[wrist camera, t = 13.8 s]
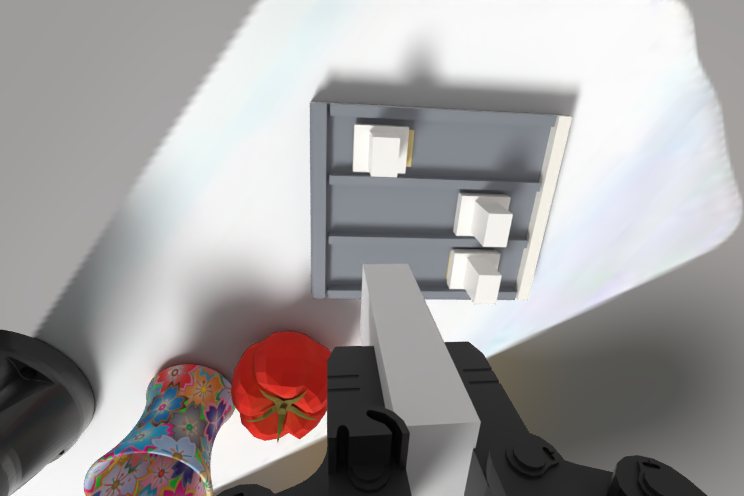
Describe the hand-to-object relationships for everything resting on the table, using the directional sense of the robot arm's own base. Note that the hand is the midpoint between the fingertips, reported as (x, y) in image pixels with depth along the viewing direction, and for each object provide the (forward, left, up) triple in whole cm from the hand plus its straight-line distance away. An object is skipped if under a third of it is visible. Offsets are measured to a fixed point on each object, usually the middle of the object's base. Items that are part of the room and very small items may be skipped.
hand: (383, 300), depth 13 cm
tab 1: (+2, +2, -19) cm, 19 cm away
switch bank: (+6, -3, -21) cm, 22 cm away
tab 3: (+10, -8, -19) cm, 23 cm away
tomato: (-6, -19, -21) cm, 29 cm away
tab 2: (+10, -3, -19) cm, 22 cm away
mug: (-17, -24, -21) cm, 36 cm away
